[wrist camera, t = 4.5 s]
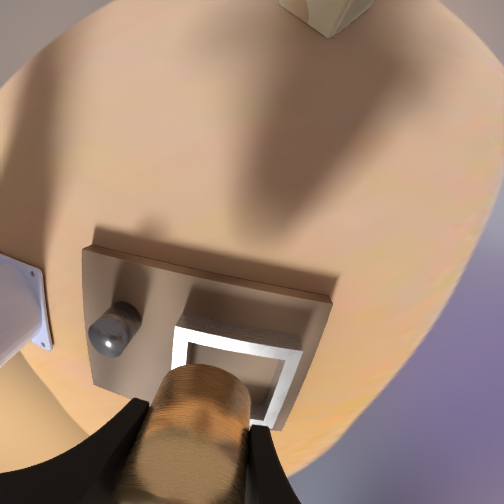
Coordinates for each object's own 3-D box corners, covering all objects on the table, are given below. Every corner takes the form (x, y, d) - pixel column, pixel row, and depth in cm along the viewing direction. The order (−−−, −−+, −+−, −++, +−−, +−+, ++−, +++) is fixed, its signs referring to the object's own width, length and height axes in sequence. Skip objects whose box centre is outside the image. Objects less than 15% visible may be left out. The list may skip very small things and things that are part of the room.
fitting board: (99, 376, 20) (78, 406, 16) (91, 244, 17) (54, 262, 13) (280, 420, 20) (282, 459, 16) (328, 295, 17) (346, 329, 13)
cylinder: (163, 417, 11) (127, 516, 6) (158, 355, 10) (97, 471, 5) (245, 431, 11) (236, 539, 6) (256, 371, 10) (251, 507, 5)
